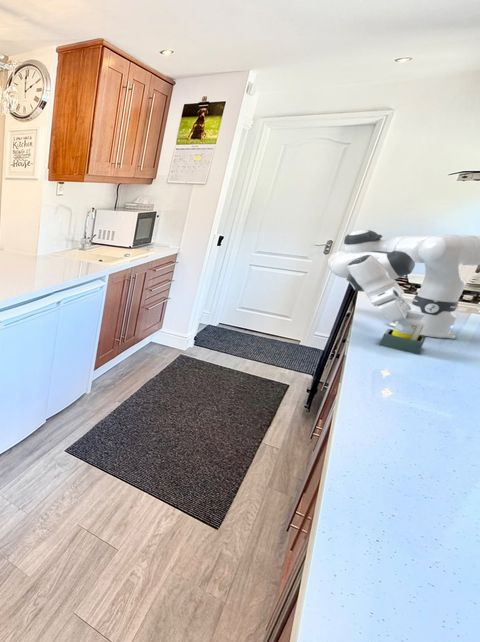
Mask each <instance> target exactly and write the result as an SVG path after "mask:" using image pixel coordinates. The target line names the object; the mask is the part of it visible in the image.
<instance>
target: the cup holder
mask: <svg viewBox="0 0 480 642" xmlns="http://www.w3.org/2000/svg"><path fill="white" fill-rule="evenodd" d="M393 330H394V328H393V329H392V328H387V329H386V330H385V332H384V333H383V335H382V337H381V340H380V342H379V344H378V345H379V346H382V347H386V348H390V349H394V350H399V351H402V352H406V353H409V354H415V355H419V353H420V351H421V349H422V347H423V345H424V343H425V340H426V339H427V336H424V335H419V337H418V339H417V341H416V340H412V339H407V338H403V337H398V336H394V335H392V333H393Z"/></svg>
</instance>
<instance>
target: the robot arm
mask: <svg viewBox="0 0 480 642" xmlns="http://www.w3.org/2000/svg"><path fill="white" fill-rule="evenodd" d="M382 238H383V235H382V234H378V233H377V232H376V231H373V230H371V229H359V230H354V231H352V232H350V233H347V234H346V235H345V236H344V240H343V245H344V250H338V251H335V252H334V253H332V254H331V255H330V256H329V257H328V259H327V266H328V268H329V270H330V271H331V273H333V274H334V275H335V276H337V277H339V278H342V279H343V278H344V279H346V281H347V282H348V283H349V284H350V285H351V287H352V289H353V290H354V291H356V292H364V293H365V295H366V297H367V298H368V299H369V300H370V302H371V304H372V305H373V306H374V307H377V308H378V310H379V311H380V312H381V313H382V314H383V315H384V316H385V317H386V318H387V319H388V320H389V321H390V322H389V324H388V326H390V327H393V328H395V326H396V324H397V322H399V323H400V324H401V325H402V326H403V327H404V328H405V329H406V330H410V329H412V328H413V326H412V325H411V324H410V323H409V322H408V321H407V319H406V316H407V315H408V313H407V310H411V311H417V312H422V313H424V314H425V315H424V317H423V318H422V320H423V321H424V323H425V324H424V326H423V328H422V330H421V333H420V335H421V336H425V337H431V338H441V339H453V340H455V339H456V334H454V333H453V332H452V329H453V328H454V325H455V323H456V322H457V319H458V317H457V316H456V314H455V313H454V312H455V311H456V310H457V308H458V305H459V300H460V298H461V296H462V294H463V292H464V290H465V288H466V286H467V280H466V279H465V278H464V277H463V276H462V271H461V270H462V266H480V235H467V234H466V235H465V234H440V235H401V236H394V237H389V238H385V239H382ZM416 264H424V269H425V272H424V277H423V281H422V283H421V285H420V288H419V290H418V292H417V294H416V295H415V296H414V297H413V298H412V301H411V304H409V303H408V302H407V301H406V300H405V298H404V297H403V296H402V294H404V293H405V291H404V289H403V288H402V287H401V286H400V285H399V283H398V282H397V281H396V280H397V279H399V278H403V277H405V276H409V275H410V274H412V273H413V271H414V268H415V267H416Z"/></svg>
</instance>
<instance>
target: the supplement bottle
mask: <svg viewBox="0 0 480 642" xmlns="http://www.w3.org/2000/svg"><path fill="white" fill-rule="evenodd" d="M407 313H408V315H407V316H406V319H407V321H408V322H409V323H410V324H411V325H412V326H413V328H412V329H410V330H406V329H405V328H404V327H403V326H402V325H401V324H400V323H399V322H397V324H396V326H395V327H393V333H392V335H394V336H398V337H403V338H407V339H412V340H416V341H417V339H418V337H419V335H420V333H421V330H422V328H423V326H424V324H425V323H424V321H423V320H422V318H423V317H424V315H425V314H424V313H422V312H417V311H411V310H407Z"/></svg>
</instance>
